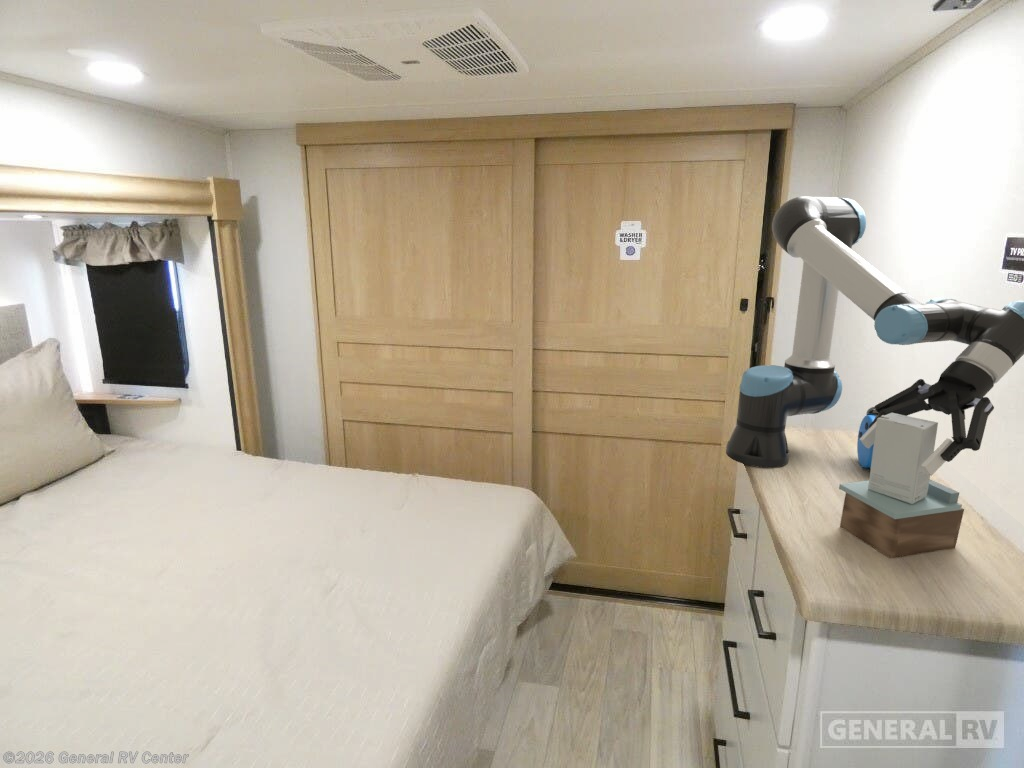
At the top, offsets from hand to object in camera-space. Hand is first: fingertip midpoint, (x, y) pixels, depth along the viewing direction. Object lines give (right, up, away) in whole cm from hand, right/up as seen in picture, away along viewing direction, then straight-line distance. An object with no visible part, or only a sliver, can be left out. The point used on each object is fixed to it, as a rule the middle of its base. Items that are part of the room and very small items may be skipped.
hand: (893, 456), depth 109 cm
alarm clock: (+20, -8, +39) cm, 44 cm away
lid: (+3, -8, +3) cm, 9 cm away
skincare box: (+2, -8, +3) cm, 8 cm away
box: (+4, -16, +6) cm, 18 cm away
